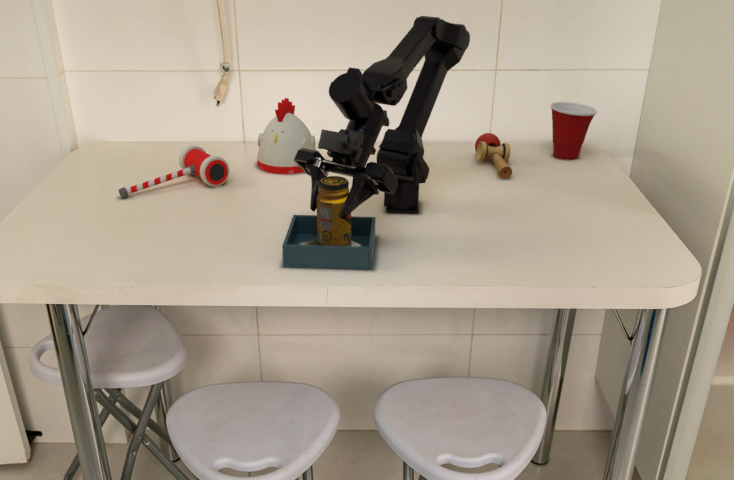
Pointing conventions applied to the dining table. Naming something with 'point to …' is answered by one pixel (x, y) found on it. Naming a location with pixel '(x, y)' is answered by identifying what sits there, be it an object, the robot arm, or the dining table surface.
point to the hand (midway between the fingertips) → (326, 213)
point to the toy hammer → (190, 170)
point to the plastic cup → (570, 128)
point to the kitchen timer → (283, 141)
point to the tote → (328, 256)
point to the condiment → (332, 214)
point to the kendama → (494, 153)
